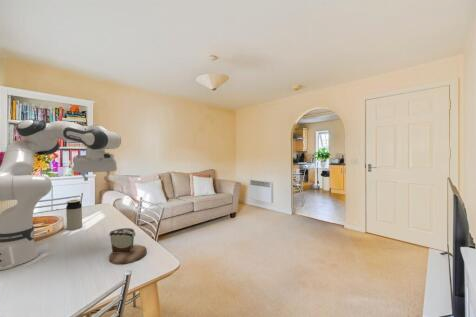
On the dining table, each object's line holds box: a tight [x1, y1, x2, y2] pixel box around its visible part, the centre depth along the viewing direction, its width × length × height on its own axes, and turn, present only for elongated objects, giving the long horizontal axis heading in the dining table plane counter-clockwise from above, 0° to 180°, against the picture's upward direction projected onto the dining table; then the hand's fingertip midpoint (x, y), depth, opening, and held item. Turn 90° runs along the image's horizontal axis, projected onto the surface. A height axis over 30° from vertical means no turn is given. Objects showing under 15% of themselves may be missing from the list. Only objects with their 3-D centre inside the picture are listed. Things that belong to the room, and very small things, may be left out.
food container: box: [108, 227, 136, 254], centre depth 106 cm, size 12×6×10 cm, turn 84°
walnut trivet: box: [108, 244, 148, 265], centre depth 104 cm, size 16×16×2 cm
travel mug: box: [65, 198, 83, 231], centre depth 142 cm, size 8×8×18 cm
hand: (96, 180), depth 120 cm, fingers open, 8 cm apart
